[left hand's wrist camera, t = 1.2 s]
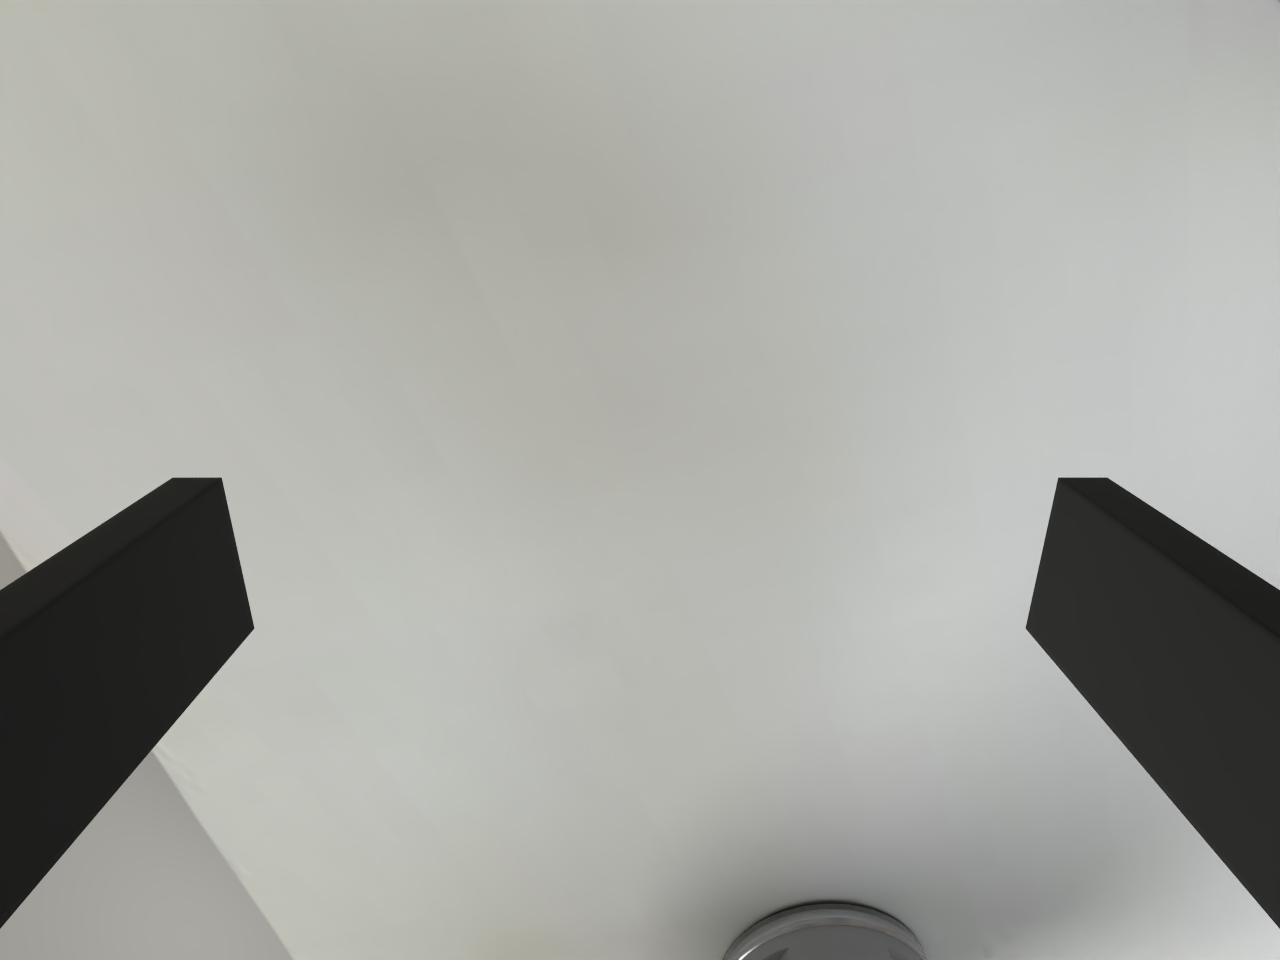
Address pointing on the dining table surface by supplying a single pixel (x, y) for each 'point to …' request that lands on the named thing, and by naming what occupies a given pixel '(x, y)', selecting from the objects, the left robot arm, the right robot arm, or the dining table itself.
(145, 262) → the dining table surface
